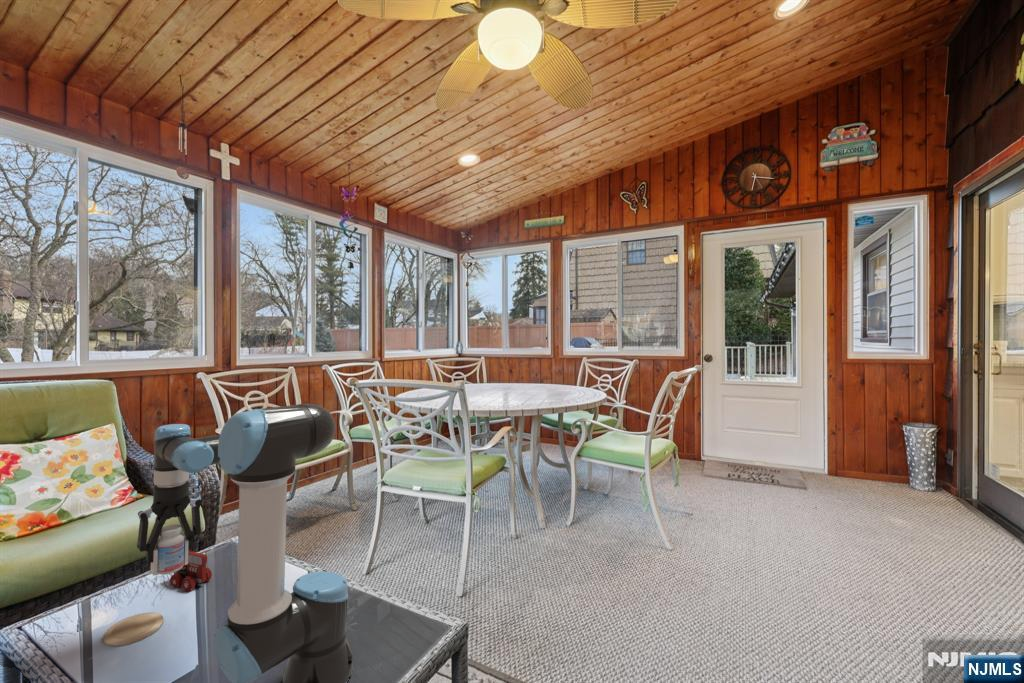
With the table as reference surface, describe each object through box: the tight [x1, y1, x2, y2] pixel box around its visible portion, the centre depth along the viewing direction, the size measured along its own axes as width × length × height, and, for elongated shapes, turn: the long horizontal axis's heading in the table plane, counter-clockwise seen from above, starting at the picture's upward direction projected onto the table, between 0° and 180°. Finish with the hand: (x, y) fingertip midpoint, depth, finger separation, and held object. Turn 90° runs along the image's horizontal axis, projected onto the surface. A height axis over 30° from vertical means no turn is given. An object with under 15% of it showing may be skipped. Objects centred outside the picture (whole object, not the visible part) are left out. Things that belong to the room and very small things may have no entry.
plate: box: [102, 612, 164, 647], centre depth 117 cm, size 12×12×1 cm
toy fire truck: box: [169, 551, 213, 592], centre depth 138 cm, size 7×12×10 cm, turn 72°
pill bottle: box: [155, 524, 185, 575], centre depth 119 cm, size 6×6×11 cm
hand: (169, 567), depth 119 cm, fingers closed on pill bottle, 6 cm apart
